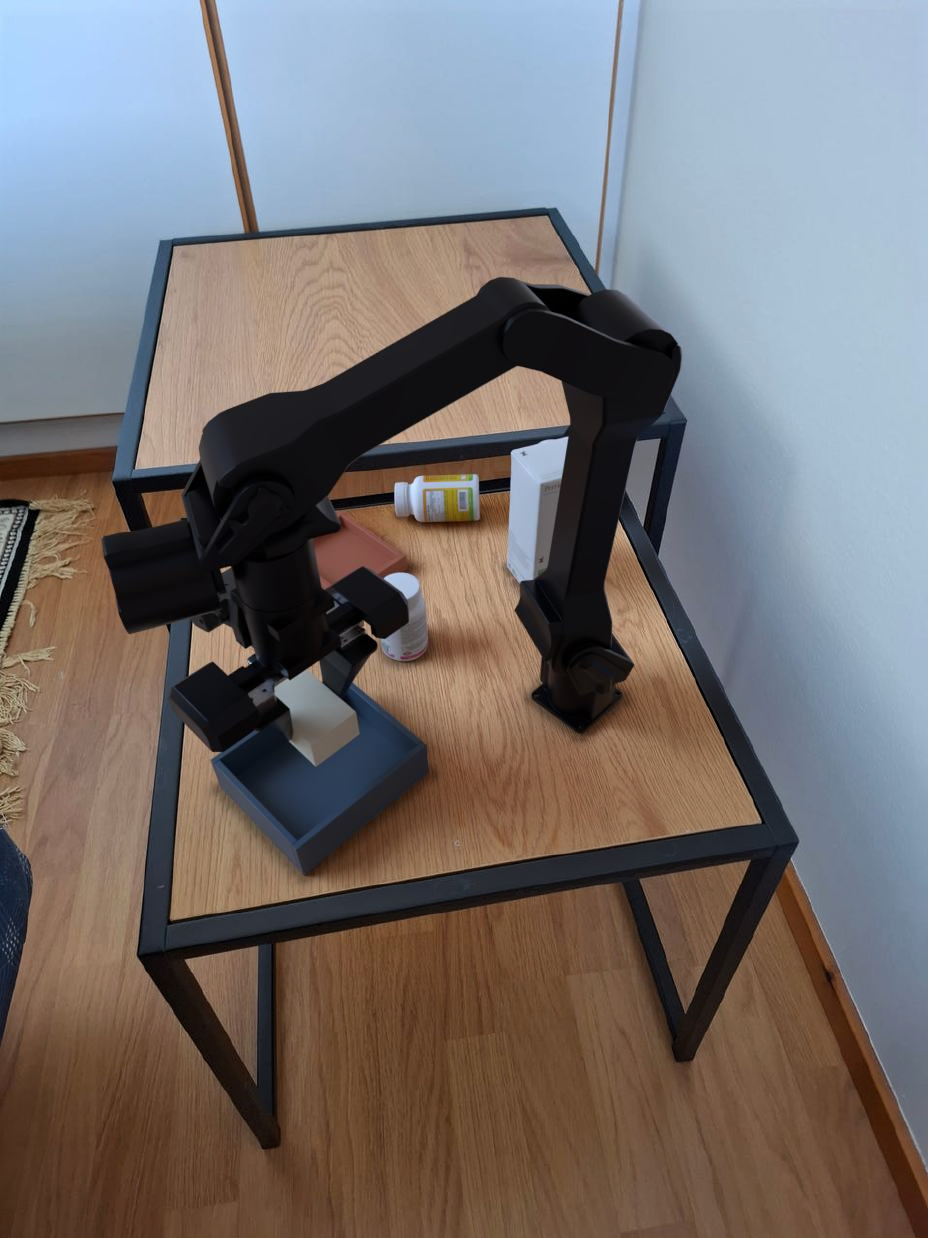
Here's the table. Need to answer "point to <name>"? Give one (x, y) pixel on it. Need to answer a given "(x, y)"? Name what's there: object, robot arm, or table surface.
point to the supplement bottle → (439, 498)
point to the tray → (354, 553)
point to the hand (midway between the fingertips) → (310, 719)
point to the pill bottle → (414, 634)
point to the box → (322, 782)
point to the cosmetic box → (533, 506)
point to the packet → (317, 717)
